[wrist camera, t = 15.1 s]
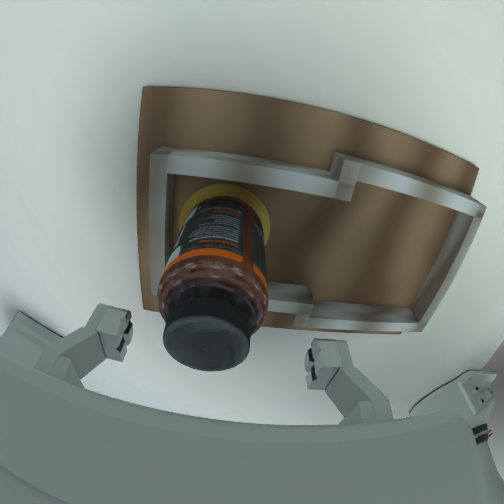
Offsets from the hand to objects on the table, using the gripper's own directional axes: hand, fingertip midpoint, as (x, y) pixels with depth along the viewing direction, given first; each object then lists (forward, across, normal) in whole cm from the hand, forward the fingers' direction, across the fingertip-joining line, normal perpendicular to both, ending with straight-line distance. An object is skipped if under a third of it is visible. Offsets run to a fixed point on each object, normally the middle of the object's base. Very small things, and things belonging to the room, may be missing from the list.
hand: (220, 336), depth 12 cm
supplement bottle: (+11, +1, +1) cm, 11 cm away
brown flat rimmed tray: (+12, -6, 0) cm, 13 cm away
